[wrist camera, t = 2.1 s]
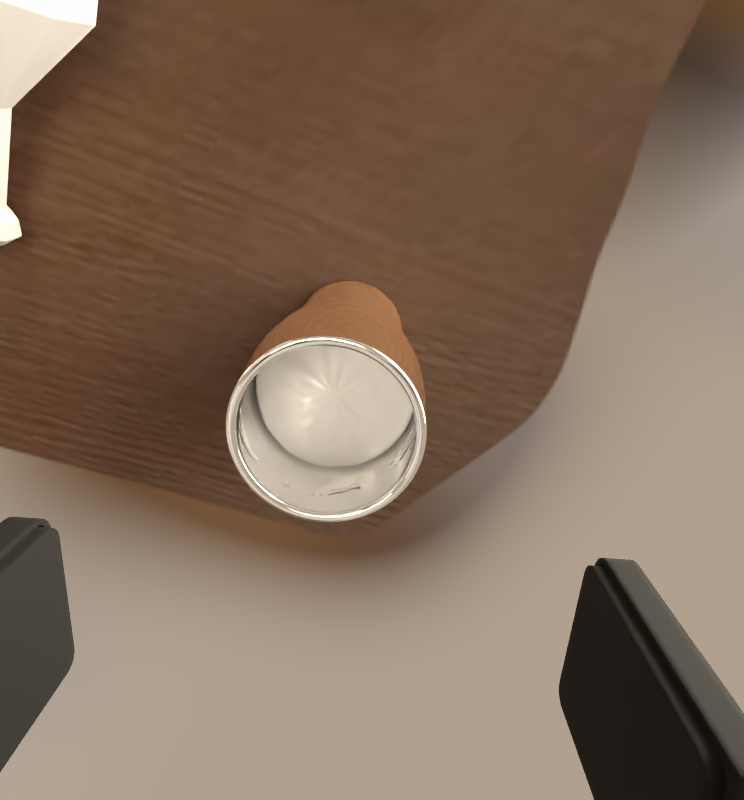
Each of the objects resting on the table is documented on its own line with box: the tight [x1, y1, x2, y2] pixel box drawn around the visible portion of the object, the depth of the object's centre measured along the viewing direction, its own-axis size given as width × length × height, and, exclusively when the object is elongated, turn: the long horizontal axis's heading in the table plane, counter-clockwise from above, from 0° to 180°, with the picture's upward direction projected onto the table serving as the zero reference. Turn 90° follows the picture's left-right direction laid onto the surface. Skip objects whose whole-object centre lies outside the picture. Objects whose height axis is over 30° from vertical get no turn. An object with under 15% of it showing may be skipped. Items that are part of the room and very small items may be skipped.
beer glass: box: [225, 281, 427, 522], centre depth 25 cm, size 7×7×15 cm
